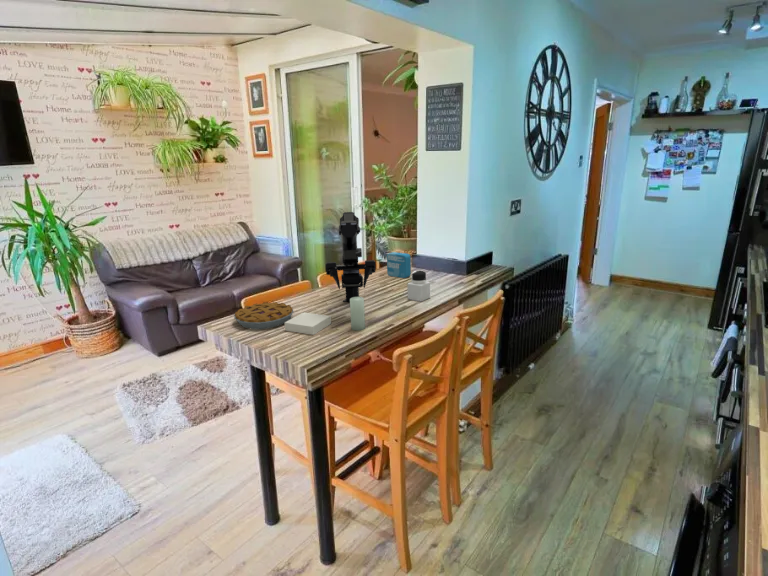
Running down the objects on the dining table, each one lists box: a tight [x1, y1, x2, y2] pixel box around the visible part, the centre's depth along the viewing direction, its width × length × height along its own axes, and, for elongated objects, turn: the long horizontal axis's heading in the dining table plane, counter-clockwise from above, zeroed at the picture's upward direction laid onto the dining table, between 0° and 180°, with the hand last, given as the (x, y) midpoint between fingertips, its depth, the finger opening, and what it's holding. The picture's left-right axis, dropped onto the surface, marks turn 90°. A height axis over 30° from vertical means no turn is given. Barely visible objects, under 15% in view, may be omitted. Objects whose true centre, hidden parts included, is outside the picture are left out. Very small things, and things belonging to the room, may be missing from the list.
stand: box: [284, 311, 332, 336], centre depth 162 cm, size 12×12×3 cm
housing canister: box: [349, 296, 366, 331], centre depth 159 cm, size 5×5×11 cm
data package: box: [386, 251, 412, 279], centre depth 229 cm, size 12×4×12 cm, turn 54°
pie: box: [233, 301, 295, 330], centre depth 170 cm, size 22×22×5 cm
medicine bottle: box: [407, 270, 431, 303], centre depth 191 cm, size 7×7×12 cm
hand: (351, 288), depth 164 cm, fingers open, 9 cm apart
